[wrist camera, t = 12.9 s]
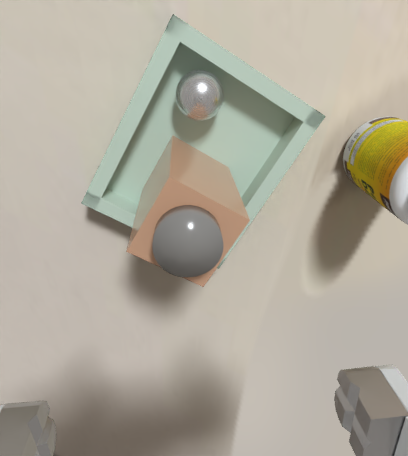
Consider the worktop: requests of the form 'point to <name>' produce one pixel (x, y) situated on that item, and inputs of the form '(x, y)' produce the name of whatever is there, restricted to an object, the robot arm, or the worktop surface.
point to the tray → (203, 126)
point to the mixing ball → (199, 95)
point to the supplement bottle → (381, 162)
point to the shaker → (187, 214)
